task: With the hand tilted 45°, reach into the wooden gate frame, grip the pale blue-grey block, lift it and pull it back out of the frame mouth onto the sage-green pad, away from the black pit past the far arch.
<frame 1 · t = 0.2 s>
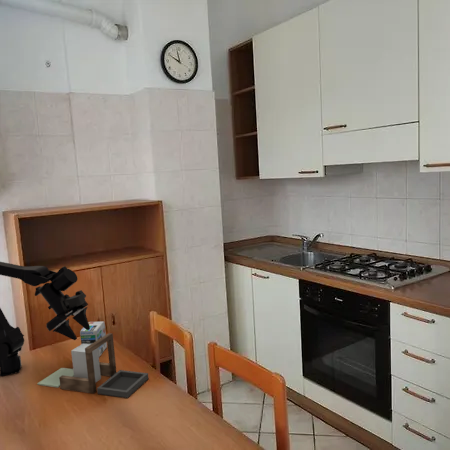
hand: (82, 334, 157), 14 cm above the table, tool tilted 35°, fingers open, 9 cm apart
light bulb box: (95, 352, 177), on the table
block: (88, 381, 153), on the table
wooden gate frame: (88, 381, 153), on the table
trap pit: (123, 386, 148), on the table
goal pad: (59, 377, 157), on the table
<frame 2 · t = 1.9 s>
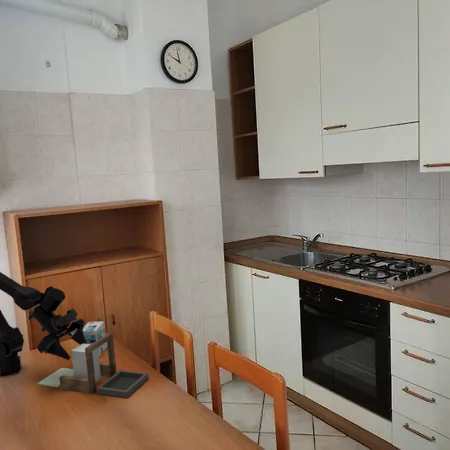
hand: (78, 353, 152), 10 cm above the table, tool tilted 45°, fingers open, 9 cm apart
nothing on the table moved.
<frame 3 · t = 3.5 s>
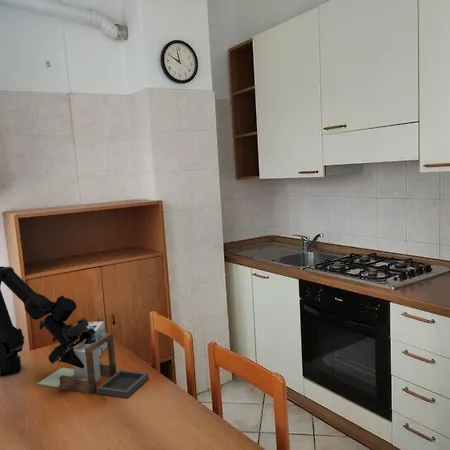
hand: (89, 363, 151), 7 cm above the table, tool tilted 45°, fingers closed on block, 6 cm apart
block: (88, 381, 152), on the table, touching gripper
everything else where it was.
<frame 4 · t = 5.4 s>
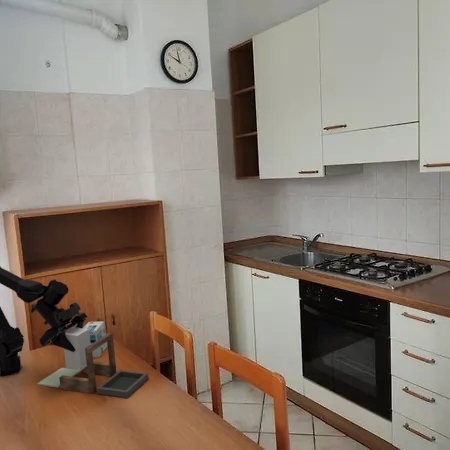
hand: (80, 347, 151), 12 cm above the table, tool tilted 45°, fingers closed on block, 6 cm apart
block: (79, 365, 153), point 5 cm above the table, touching gripper
everything else where it was.
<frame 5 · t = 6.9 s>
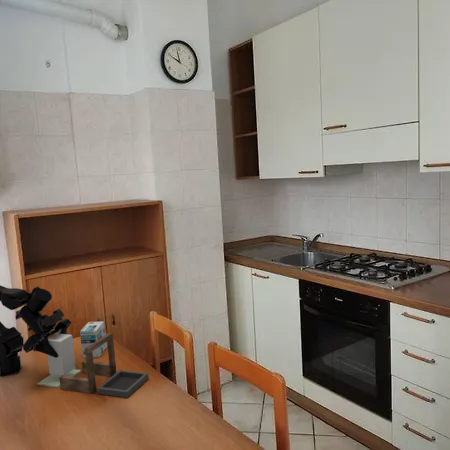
hand: (64, 353, 154), 9 cm above the table, tool tilted 45°, fingers closed on block, 6 cm apart
block: (62, 370, 156), point 3 cm above the table, touching gripper
everything else where it was.
when the fingers open (8 cm above the table, at t = 7.6 s): block drops 1 cm, resting on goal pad.
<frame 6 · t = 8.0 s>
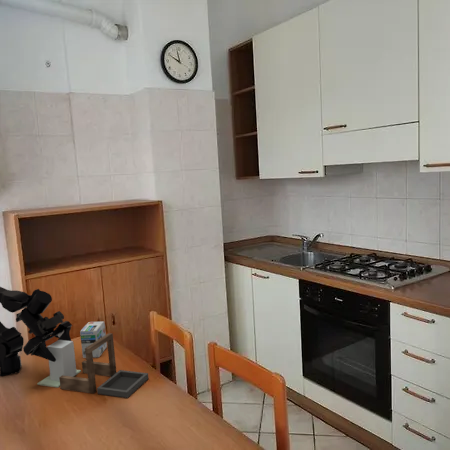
hand: (64, 355, 154), 9 cm above the table, tool tilted 45°, fingers open, 9 cm apart
block: (63, 377, 156), point 1 cm above the table, touching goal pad
everything else where it was.
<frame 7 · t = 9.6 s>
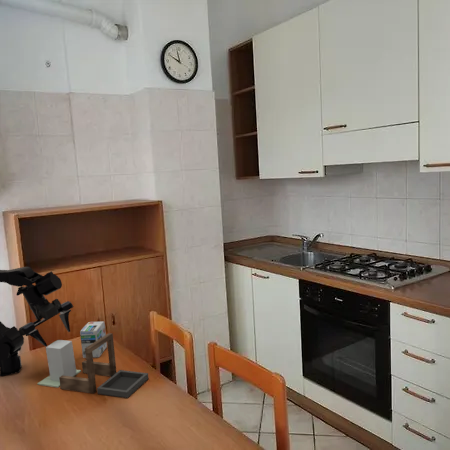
hand: (58, 339, 161), 12 cm above the table, tool tilted 25°, fingers open, 9 cm apart
nothing on the table moved.
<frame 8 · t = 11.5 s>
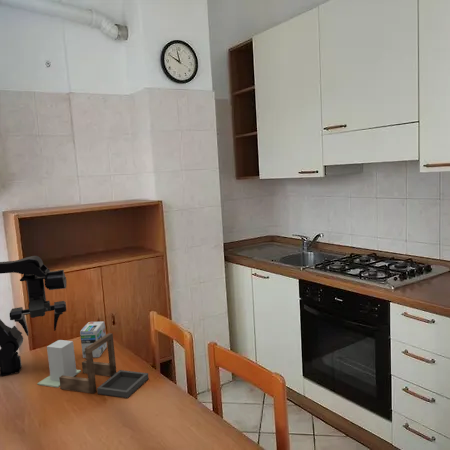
hand: (41, 332, 165), 13 cm above the table, tool pointing down, fingers open, 9 cm apart
nothing on the table moved.
at the end: block inside the target area on the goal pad (1.8 cm from its centre), point 0.5 cm above the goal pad's base; block tilted 0°; the gripper is holding nothing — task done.
